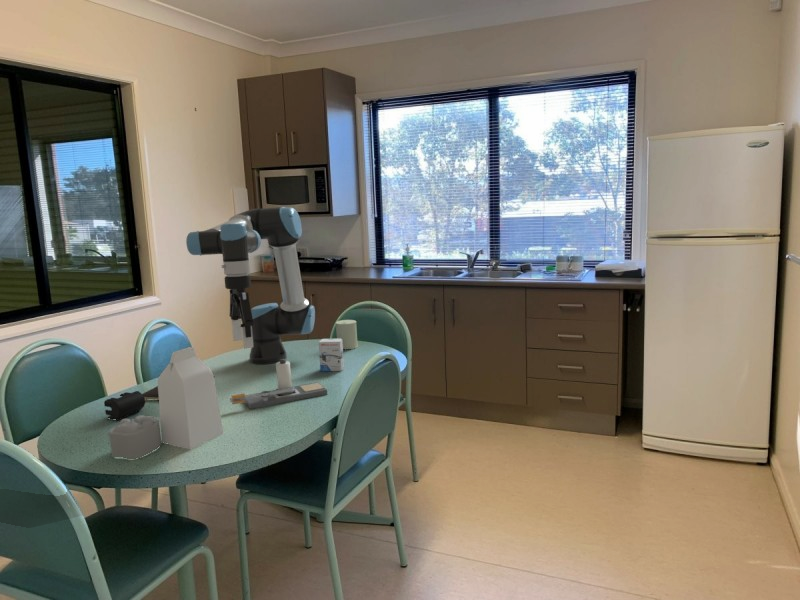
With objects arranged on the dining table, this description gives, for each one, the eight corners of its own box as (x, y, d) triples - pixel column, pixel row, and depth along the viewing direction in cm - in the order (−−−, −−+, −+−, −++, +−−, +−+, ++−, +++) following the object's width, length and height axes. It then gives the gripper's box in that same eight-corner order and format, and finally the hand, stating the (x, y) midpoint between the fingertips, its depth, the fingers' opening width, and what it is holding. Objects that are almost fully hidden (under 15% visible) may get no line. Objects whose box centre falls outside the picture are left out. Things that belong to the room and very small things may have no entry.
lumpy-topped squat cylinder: (106, 457, 159) (102, 427, 157) (141, 438, 171) (137, 409, 169) (137, 461, 155) (133, 430, 154) (171, 441, 167) (167, 412, 166)
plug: (273, 396, 202) (270, 358, 199) (293, 392, 204) (289, 355, 202) (278, 402, 195) (274, 363, 193) (298, 398, 198) (295, 360, 196)
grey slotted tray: (243, 400, 199) (243, 392, 199) (318, 386, 210) (317, 378, 209) (249, 409, 190) (249, 400, 190) (327, 394, 201) (326, 386, 200)
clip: (230, 402, 190) (229, 395, 190) (291, 391, 198) (290, 384, 198) (231, 405, 187) (230, 397, 187) (293, 394, 196) (292, 386, 195)
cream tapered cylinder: (334, 350, 259) (332, 323, 257) (340, 344, 268) (338, 318, 266) (355, 350, 257) (353, 323, 255) (360, 344, 266) (358, 318, 264)
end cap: (121, 422, 185) (118, 401, 183) (105, 419, 187) (102, 399, 186) (146, 411, 193) (144, 391, 192) (131, 409, 196) (128, 389, 195)
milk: (190, 450, 161) (179, 357, 156) (162, 443, 167) (150, 353, 162) (223, 433, 171) (214, 346, 167) (195, 427, 177) (185, 343, 172)
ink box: (319, 371, 227) (317, 342, 225) (322, 368, 232) (320, 338, 230) (342, 371, 227) (339, 341, 225) (344, 367, 232) (342, 338, 229)
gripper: (216, 273, 188) (222, 339, 191) (233, 279, 166) (240, 353, 169) (240, 271, 192) (245, 335, 195) (260, 276, 170) (266, 349, 173)
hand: (243, 344), depth 182 cm, fingers open, 13 cm apart
